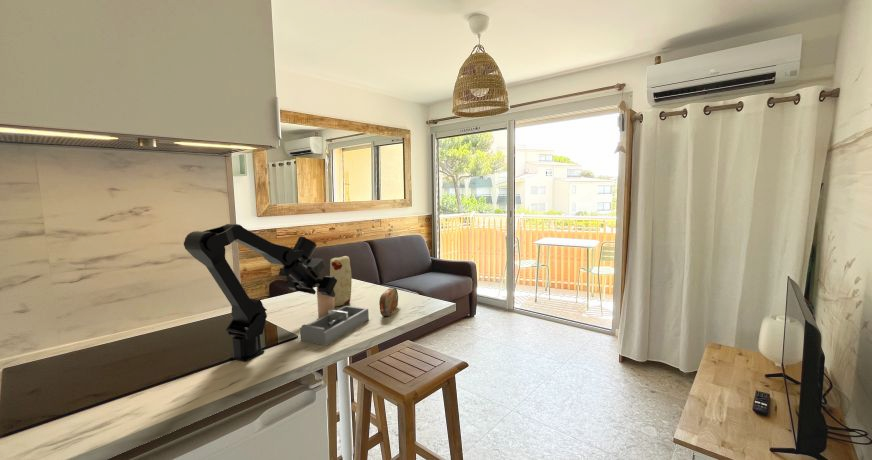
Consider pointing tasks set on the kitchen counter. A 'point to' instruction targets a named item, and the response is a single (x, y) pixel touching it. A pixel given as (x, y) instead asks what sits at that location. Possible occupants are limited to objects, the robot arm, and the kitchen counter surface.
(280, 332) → the kitchen counter surface
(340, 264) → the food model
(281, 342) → the kitchen counter surface
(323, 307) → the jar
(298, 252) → the robot arm
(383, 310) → the brown flat rounded slab
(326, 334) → the grey tray
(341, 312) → the pusher
